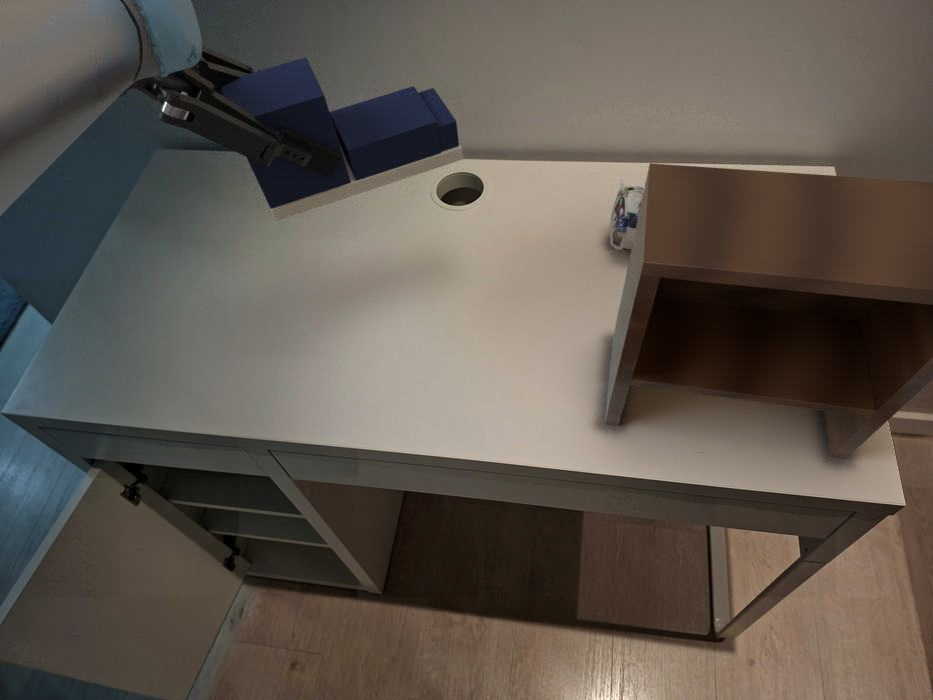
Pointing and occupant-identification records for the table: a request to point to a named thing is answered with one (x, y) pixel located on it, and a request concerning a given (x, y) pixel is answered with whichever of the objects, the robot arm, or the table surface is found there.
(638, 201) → the pencil case
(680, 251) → the brown box
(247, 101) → the blue blocks on base
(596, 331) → the table surface
